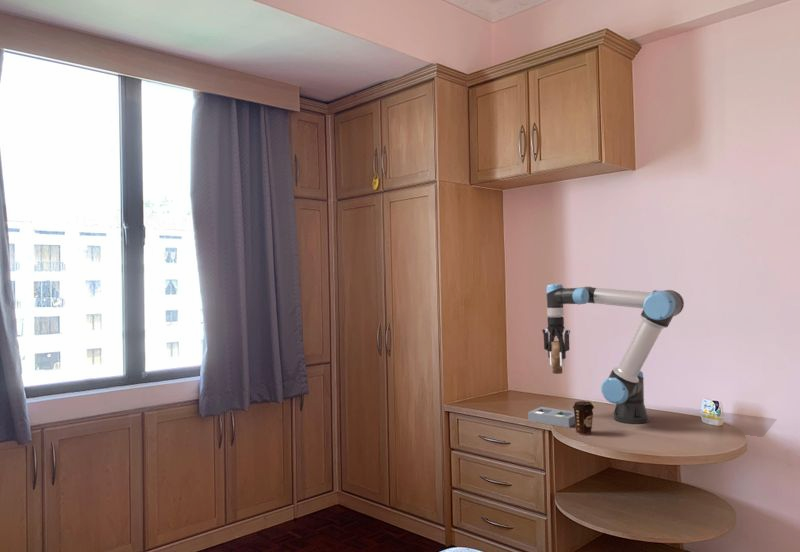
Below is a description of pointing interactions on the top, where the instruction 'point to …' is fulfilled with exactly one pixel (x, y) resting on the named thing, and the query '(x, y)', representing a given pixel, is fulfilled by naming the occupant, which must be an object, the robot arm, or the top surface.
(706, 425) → the top surface
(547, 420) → the socket block
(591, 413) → the coffee cup
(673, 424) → the top surface
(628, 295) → the robot arm
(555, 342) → the walnut plug
